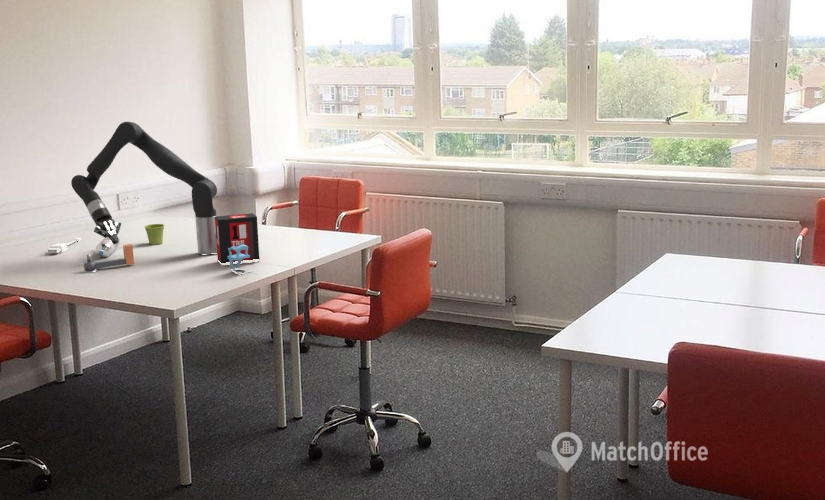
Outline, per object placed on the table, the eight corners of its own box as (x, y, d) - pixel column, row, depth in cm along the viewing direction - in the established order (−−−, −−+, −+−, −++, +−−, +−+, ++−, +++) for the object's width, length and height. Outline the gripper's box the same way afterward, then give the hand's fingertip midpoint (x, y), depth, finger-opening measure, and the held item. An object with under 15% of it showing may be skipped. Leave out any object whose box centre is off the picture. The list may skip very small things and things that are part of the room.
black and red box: (221, 266, 383) (218, 220, 378) (217, 261, 391) (214, 216, 386) (259, 262, 388) (256, 216, 384) (255, 257, 396) (252, 213, 392)
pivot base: (99, 269, 381) (97, 253, 380) (95, 272, 375) (93, 256, 374) (85, 269, 381) (83, 253, 379) (80, 273, 375) (78, 256, 373)
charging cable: (84, 242, 440) (84, 235, 440) (58, 254, 408) (57, 247, 408) (74, 242, 440) (74, 235, 440) (47, 255, 409) (46, 247, 408)
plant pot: (163, 245, 424) (161, 227, 422) (143, 246, 424) (141, 228, 422) (168, 241, 433) (167, 223, 431) (149, 241, 433) (147, 224, 431)
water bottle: (121, 235, 421) (110, 247, 396) (118, 249, 422) (107, 261, 398) (106, 231, 419) (94, 243, 395) (103, 245, 421) (91, 258, 397)
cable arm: (85, 271, 375) (83, 251, 373) (83, 269, 379) (81, 250, 377) (134, 264, 385) (132, 245, 383) (131, 262, 389) (130, 243, 387)
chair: (240, 269, 377) (238, 241, 374) (253, 271, 372) (251, 243, 369) (225, 272, 371) (223, 244, 368) (238, 275, 366) (237, 247, 363)
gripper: (87, 209, 389) (105, 240, 383) (115, 204, 398) (132, 234, 393) (82, 220, 393) (100, 250, 388) (110, 215, 403) (127, 245, 398)
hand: (116, 242), depth 391 cm, fingers closed
